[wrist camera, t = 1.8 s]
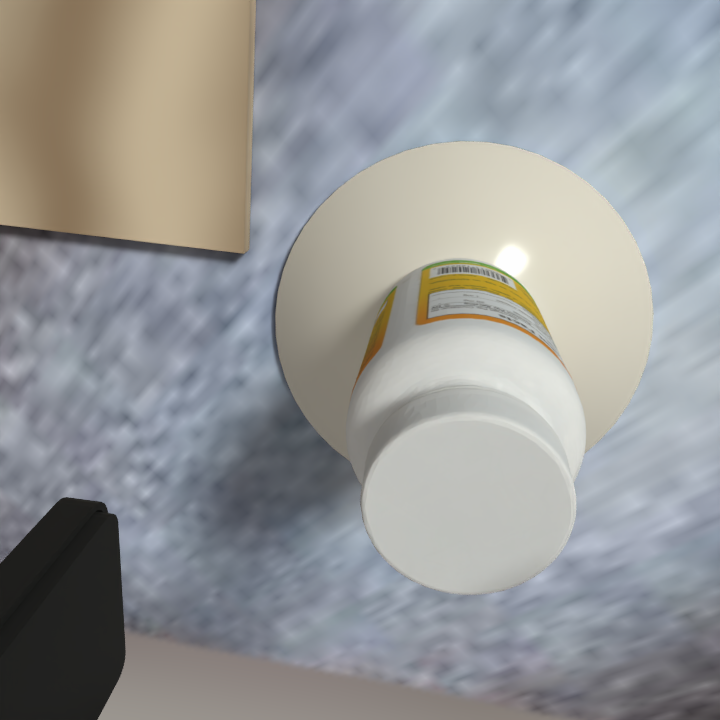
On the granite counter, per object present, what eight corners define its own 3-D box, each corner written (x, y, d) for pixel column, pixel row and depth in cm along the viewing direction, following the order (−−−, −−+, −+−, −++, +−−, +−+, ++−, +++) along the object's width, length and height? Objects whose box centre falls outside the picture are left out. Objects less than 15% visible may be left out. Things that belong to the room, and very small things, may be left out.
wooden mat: (259, -123, 17) (252, -131, 17) (249, 249, 21) (243, 253, 20) (-94, -149, 18) (-111, -157, 17) (-42, 215, 22) (-55, 217, 21)
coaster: (699, 163, 18) (702, 164, 18) (602, 515, 23) (603, 519, 23) (285, 121, 19) (283, 121, 19) (269, 467, 24) (268, 470, 24)
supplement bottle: (431, 439, 22) (422, 663, 13) (341, 313, 21) (265, 467, 12) (574, 362, 21) (672, 558, 12) (487, 220, 20) (522, 320, 11)
